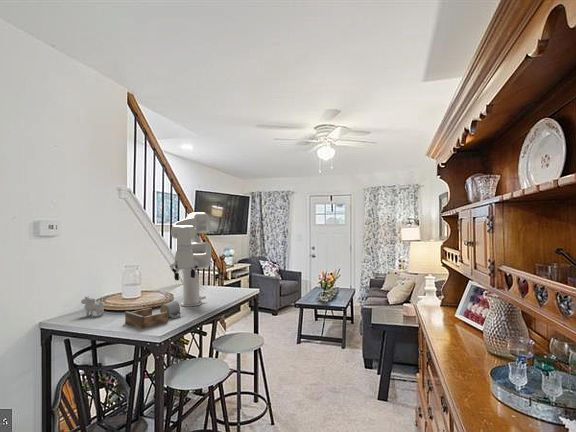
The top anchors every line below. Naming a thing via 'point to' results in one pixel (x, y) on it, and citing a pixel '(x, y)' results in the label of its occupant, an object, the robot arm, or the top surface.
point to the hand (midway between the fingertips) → (184, 278)
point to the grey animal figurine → (92, 306)
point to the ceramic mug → (171, 309)
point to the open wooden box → (145, 318)
